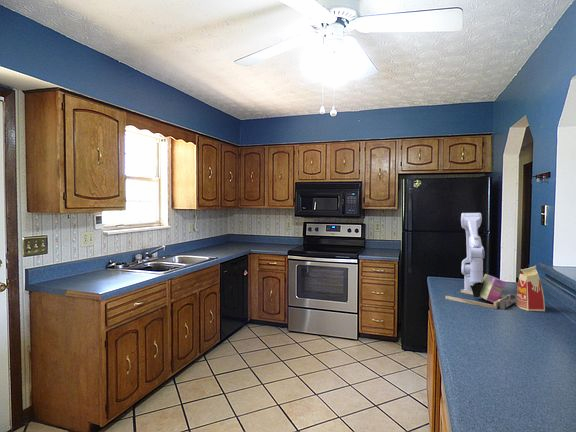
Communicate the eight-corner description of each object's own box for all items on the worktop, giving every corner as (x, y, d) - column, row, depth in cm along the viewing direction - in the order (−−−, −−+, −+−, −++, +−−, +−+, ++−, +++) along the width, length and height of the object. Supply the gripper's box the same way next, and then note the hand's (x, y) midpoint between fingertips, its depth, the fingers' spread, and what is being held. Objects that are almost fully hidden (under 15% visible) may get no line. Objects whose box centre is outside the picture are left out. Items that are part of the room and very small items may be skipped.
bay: (461, 292, 194) (461, 285, 194) (518, 302, 173) (518, 294, 173) (445, 298, 182) (445, 291, 182) (504, 310, 161) (504, 302, 161)
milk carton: (533, 305, 168) (534, 264, 167) (546, 311, 159) (546, 267, 158) (513, 305, 169) (514, 264, 168) (524, 311, 160) (525, 267, 159)
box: (497, 304, 171) (506, 281, 170) (486, 300, 171) (494, 278, 171) (487, 298, 181) (495, 277, 180) (476, 294, 182) (484, 273, 181)
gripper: (474, 267, 186) (474, 292, 187) (462, 271, 177) (462, 298, 178) (488, 269, 181) (488, 295, 182) (476, 273, 172) (476, 300, 172)
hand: (476, 296), depth 179 cm, fingers closed
